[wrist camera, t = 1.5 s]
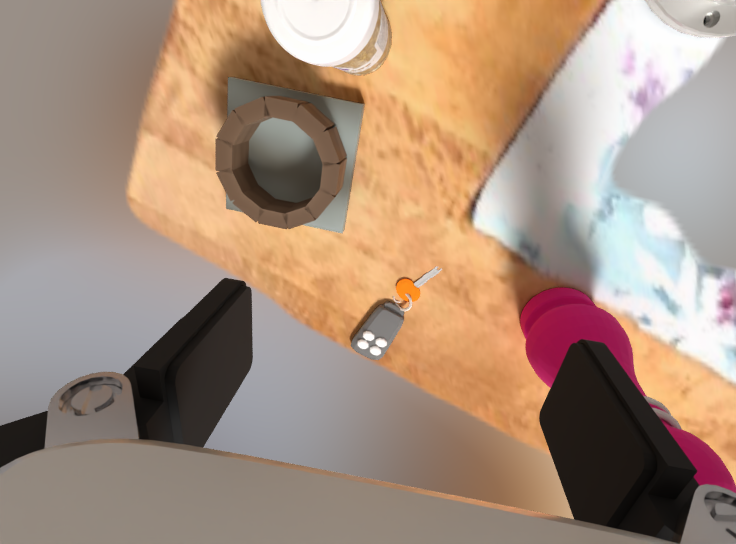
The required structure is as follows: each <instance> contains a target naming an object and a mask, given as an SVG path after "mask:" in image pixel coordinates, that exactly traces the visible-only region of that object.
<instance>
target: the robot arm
mask: <svg viewBox="0 0 736 544" xmlns="http://www.w3.org/2000/svg"><path fill="white" fill-rule="evenodd" d="M645 1H646V2H647V4H648V6H649V7H650V9H651V11H652V12H653V13H654V14H655V15H656V16H657V17H658V18H660V19H661V20H662V21H663V22H664V23H665V24H666V25H668V26H670V27H672V28H674V29H675V30H677V31H679V32H681V33H685V34H689V35H692V36H696V37H707V38H722V37H728V36H735V35H736V0H645ZM704 18H705V20H706V21H705V23H703V21H704ZM251 296H252V294H251V288H250V287H247V286H246V283H245V282H244V281H240V280H234V279H228V278H224V279H223V280H221V281H220V282H219V283H218V284H217V285H216V286H215V287H214V288H213V289H212V290H211V291H210V292H209V293H208V294H207V295H206V296H205V297H204V298H203V299H202V300H201V301H200V302H199V303H198V304H197V305H196V306H195V307H194V308H193V309H192V310H191V311H190V312H189V313H188V314H187V315H186V316H184V317H183V318H182V319H180V320H179V321H178V322H177V323H176V324H175V325H174V326H173V327H172V328H171V329H170V330H169V331H168V332H167V333H166V334H165V335H164V336H163V337H162V338H160V340H158V341H157V342H156V343H155V344H154V345H153V346H152V347H151V348H150V349H149V350H148V351H147V352H146V353H145V354H144V355H143V356H142V357H141V358H140V359H139V360H138V361H137V362H136V363H135V364H134V365H133V366H132V367H131V368H129V369H128V370H127V371H126V372H125V373H124V374H119V373H116V372H98V373H92V374H89V375H86V376H82V377H79V378H77V379H75V380H73V381H71V382H70V383H67V384H66V385H65V386H64V387H62V388H61V389H59V390H58V391H57V392H56V393H55V395H54V396H53V397H52V398H51V401H50V403H49V406H48V411H45V412H42V413H39V414H36V415H33V416H30V417H26V418H23V419H20V420H17V421H14V422H11V423H8V424H5V425H2V426H0V544H736V493H735V492H733V491H731V490H729V489H726V488H723V487H720V486H717V485H709V484H705V485H701V486H700V485H699V484H698V482H697V481H696V480H695V478H694V475H695V474H696V473H697V472H698V471H697V469H696V468H695V467H694V465H693V464H692V463H691V461H690V460H689V458H688V457H687V456H686V454H685V453H684V452H683V450H682V449H681V447H680V446H679V445H678V443H677V442H676V440H675V439H674V438H673V436H672V435H671V434H670V432H669V431H668V429H667V428H666V427H665V425H664V424H663V423H662V421H661V420H660V418H659V417H658V416H657V414H656V413H655V412H654V410H653V409H652V407H651V406H650V405H649V403H648V402H647V401H646V399H645V398H644V396H643V395H642V394H641V392H640V391H639V390H638V388H637V387H636V385H635V384H634V383H633V381H632V380H631V378H630V377H629V376H628V374H627V373H626V372H625V370H624V369H623V367H622V366H621V365H620V363H619V362H618V361H617V359H616V358H615V356H614V355H613V354H612V352H611V351H610V350H609V348H608V347H607V345H606V344H605V343H602V342H597V341H591V340H585V339H580V340H579V341H578V342H577V343H572V344H571V345H570V347H569V349H568V351H567V353H566V356H565V358H564V360H563V362H562V364H561V367H560V369H559V371H558V373H557V375H556V378H555V380H554V382H553V384H552V387H551V389H550V391H549V393H548V395H547V398H546V400H545V402H544V404H543V406H542V409H541V411H540V417H539V419H540V425H541V428H542V431H543V433H544V436H545V439H546V442H547V444H548V447H549V450H550V453H551V456H552V458H553V461H554V464H555V467H556V469H557V472H558V475H559V478H560V480H561V483H562V486H563V489H564V492H565V495H566V497H567V500H568V503H569V506H570V509H571V511H572V514H573V517H574V519H569V518H563V517H559V516H554V515H549V514H544V513H539V512H534V511H529V510H525V509H520V508H515V507H510V506H505V505H500V504H495V503H490V502H485V501H480V500H475V499H470V498H465V497H460V496H455V495H450V494H445V493H440V492H434V491H430V490H425V489H419V488H415V487H410V486H404V485H399V484H394V483H389V482H384V481H378V480H374V479H369V478H363V477H358V476H353V475H348V474H343V473H338V472H333V471H327V470H322V469H317V468H311V467H306V466H301V465H295V464H290V463H285V462H280V461H275V460H269V459H264V458H259V457H254V456H248V455H243V454H237V453H231V452H225V451H220V450H214V449H208V448H203V447H204V445H205V443H206V441H207V440H208V438H209V436H210V435H211V433H212V432H213V430H214V428H215V427H216V425H217V423H218V422H219V420H220V418H221V417H222V415H223V413H224V412H225V410H226V408H227V407H228V405H229V403H230V402H231V400H232V398H233V397H234V395H235V393H236V392H237V390H238V389H239V387H240V385H241V384H242V382H243V380H244V378H245V377H246V375H247V373H248V372H249V370H250V368H251V364H252V358H253V355H252V354H253V352H252V298H251Z"/></svg>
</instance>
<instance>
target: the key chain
mask: <svg viewBox="0 0 736 544" xmlns="http://www.w3.org/2000/svg"><path fill="white" fill-rule="evenodd" d="M437 268H438V267H435V268H434V269H433V270H431V271H430V272H428V273H426V274H425V275H423V277H421V278H420V279H419V280H417V281H416V282H415V283H413V281H411V280H409V279H402V280H399V282H398V283H397V286H396V290H397V293H398V295H399V296H400V297H401V298H402V299H403V300H405V301H408V302H410V303H409V306H408V307H407V308H401V307H400V306H399V305H398V304H397V303H400V302H401V301H397V300H395V298H394V296H393V300H394V301H395V304H394V303H392V302H385V303H384V305H379V306H378V307H377V308H376V309H375V310H374V311H373V312H372V314H371V315H370V316H369V318H368V319H367V320H366V321H365V323H364V324H363V325H362V327H361V328H360V329H359V331H358V332H357V333H356V334H355V336H354V337H353V340H352V342H351V347H352V348H353V349H354V350H355V351H356V352H358V353H360V354H361V355H363V356H365V357H367V358H370V359H373V360H379V359H380V358H382V357H383V356H384V354H385V352H386V351H387V349H388V348H389V346H390V344H391V343H392V341H393V340H394V338H395V336H396V335H397V333H398V331H399V330H400V328H401V326H402V324H403V321H404V317H403V315H404V311H408V310H409V309H410V308H411V307H412V302H414V301H416V300H417V299H418V298H419V297H420V290H419V287H420V286H422V285H423V284H424V283H426V282H427V280H429V279H430V278H432V277H434V276H435V275H436V274H438V273H439V272H440V271H441V270H442V268H441V269H440V270H437ZM396 302H397V303H396Z"/></svg>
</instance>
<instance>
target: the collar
mask: <svg viewBox="0 0 736 544" xmlns="http://www.w3.org/2000/svg"><path fill="white" fill-rule="evenodd" d="M364 105H365V104H362V103H357V102H352V101H347V100H342V99H337V98H332V97H328V96H323V95H318V94H313V93H308V92H303V91H298V90H293V89H288V88H283V87H279V86H274V85H269V84H264V83H259V82H254V81H249V80H244V79H239V78H235V77H228V113H227V120H226V121H225V123H224V125H223V126H222V128H221V130H220V131H219V133H218V134H217V136H216V137H218V138H217V139H216V170H217V171H219V172H217V175H218V177H219V179H220V181H221V183H222V185H223V187H224V189H225V191H226V209H230V210H235V211H240V212H244V213H245V214H246V215H248V216H249V217H250V218H251V219H253V220H254V221H255V222H257V221H258V223H259V224H264V225H269V226H274V227H278V228H283V229H287V228H288V229H291V228H294V227H297V226H300V225H305V226H310V227H315V228H320V229H324V230H329V231H334V232H338V233H343V231H344V229H345V222H346V216H347V210H348V204H349V198H350V192H351V185H352V179H353V173H354V167H355V161H356V155H357V148H358V142H359V136H360V130H361V124H362V118H363V112H364Z"/></svg>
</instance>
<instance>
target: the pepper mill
mask: <svg viewBox="0 0 736 544" xmlns="http://www.w3.org/2000/svg"><path fill="white" fill-rule="evenodd" d="M520 324H521V329H522V331H523V334H524V336H525V338H526V354H527V358H528V360H529V362H530V364H531V366H532V368H533V369H534V371H535V372H536V374H537V375H538V376H539V377H540V379H541V380H542V381H543V382H544V383H545V384H547V385H548V386H549V387H550V388H551V387H552V384H553V382H554V380H555V378H556V375H557V373H558V371H559V369H560V367H561V364H562V362H563V360H564V358H565V356H566V353H567V351H568V349H569V347H570V345H571V344H572V343H577V342H578V341H579V340H580V339H585V340H591V341H597V342H602V343H605V344H606V345H607V347H608V348H609V350H610V351H611V352H612V354H613V355H614V356H615V358H616V359H617V361H618V362H619V363H620V365H621V366H622V367H623V369H624V370H625V372H626V373H627V374H628V376H629V377H630V378H631V380H632V381H633V383H634V384H635V385H636V387H637V388H638V390H639V391H640V392H641V394H642V395H643V396H644V398H645V399H646V401H647V402H648V403H649V405H650V406H651V407H652V409H653V410H654V412H655V413H656V414H657V416H658V417H659V418H660V420H661V421H662V423H663V424H664V425H665V427H666V428H667V429H668V431H669V432H670V434H671V435H672V436H673V438H674V439H675V440H676V442H677V443H678V445H679V446H680V447H681V449H682V450H683V452H684V453H685V454H686V456H687V457H688V458H689V460H690V461H691V463H692V464H693V465H694V467H695V468H696V469H697V471H698V472H697V473H696V474H695V475H694V478H695V480H696V481H697V482H698V484H699V485H700V486H701V485H705V484H709V485H717V486H720V487H723V488H726V489H729V490H731V491H733V492H735V493H736V486H735V483H734V480H733V478H732V476H731V474H730V472H729V471H728V469H727V468H726V466H725V465H724V463H723V461H722V460H721V458H720V457H719V456H718V455H717V454H716V453H715V452H714V451H713V450H712V449H711V448H710V447H709V445H707V444H706V443H705V442H703V441H702V440H700V439H699V438H697V437H696V436H694V435H693V434H691V433H689V432H686V431H684V430H682V429H681V427H680V425H679V423H678V421H677V420H676V419H674V418H673V417H672V416H671V414H670V412H669V410H668V409H667V408H666V407H665V406H664V405H663V404H662V403H660V402H659V401H657V400H655V399H652V398H650V397H647V396H646V395H645V393H644V392H643V390H642V388H641V387H640V385H639V383H638V381H637V378H636V376H635V372H634V365H633V352H632V347H631V344H630V341H629V338H628V336H627V334H626V332H625V331H624V329H623V328H622V327H621V325H620V324H619V322H618V321H617V320H616V319H615V318H614V317H613V316H612V315H611V314H609V313H608V312H606V311H605V310H603V309H600V308H598V307H596V305H595V304H594V303H593V302H592V301H591V299H590V298H589V297H588V296H587V295H585V294H584V293H582V292H581V291H578V290H575V289H572V288H566V287H560V288H553V289H549V290H545V291H543V292H541V293H539V294H537V295H536V296H534V297H533V298H532V299H531V300H530V301H529V302H528V303H527V304H526V306H525V307H524V309H523V311H522V314H521V318H520Z"/></svg>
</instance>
